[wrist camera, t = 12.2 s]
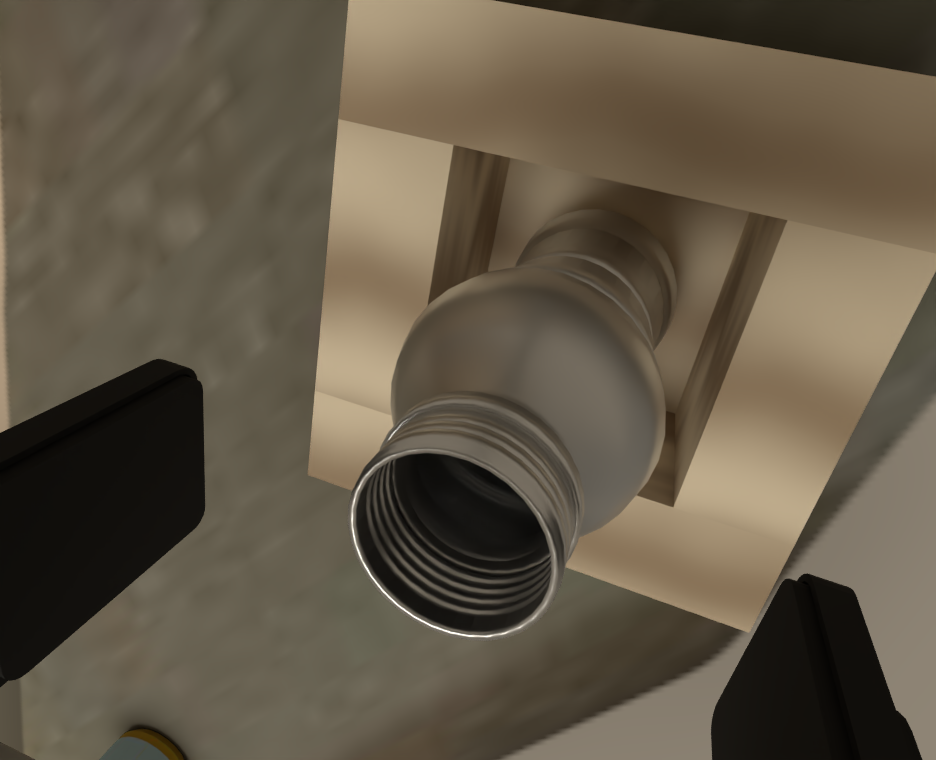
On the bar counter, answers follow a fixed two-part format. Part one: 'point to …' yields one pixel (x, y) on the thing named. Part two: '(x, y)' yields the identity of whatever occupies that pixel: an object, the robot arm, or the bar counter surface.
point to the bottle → (142, 747)
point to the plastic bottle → (517, 427)
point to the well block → (669, 220)
